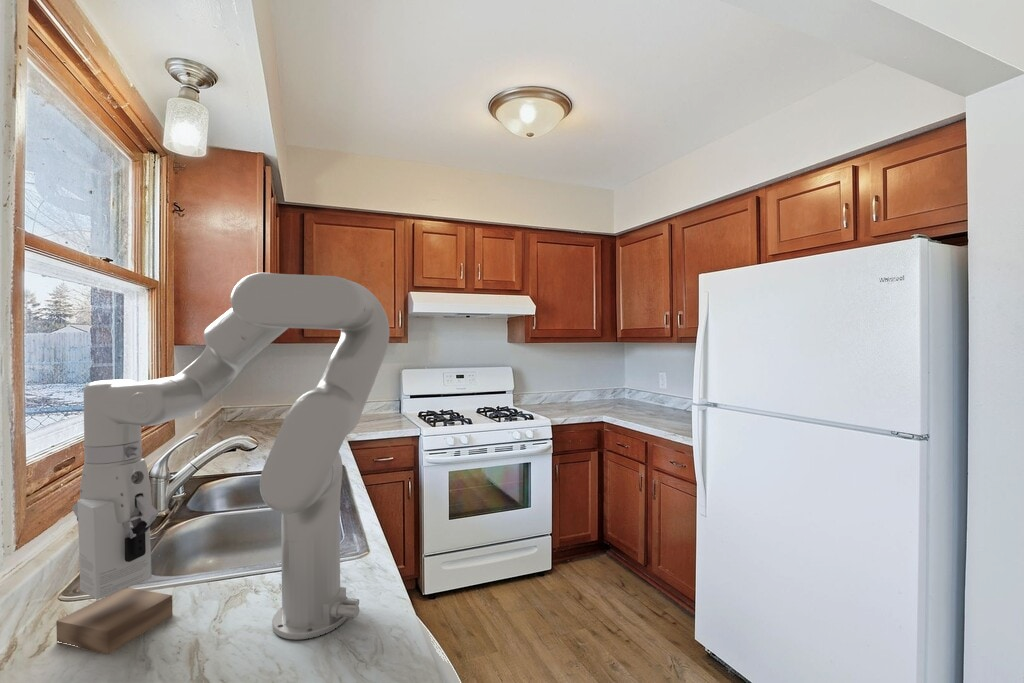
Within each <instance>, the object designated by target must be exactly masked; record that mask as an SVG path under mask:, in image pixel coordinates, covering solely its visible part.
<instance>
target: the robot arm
mask: <svg viewBox="0 0 1024 683" xmlns="http://www.w3.org/2000/svg"><path fill="white" fill-rule="evenodd" d="M230 305H231V306H230V307H231V308H229V309H228V310H227V311H225V312H224V313H223V314H222V315H220V316H219V317H217V319H216V320H214V321H213V322H212V323H210V324H209V325H208V326H207V327H206V328H205V330H204V331H203V340H204V342H205V344H206V345H205V348H204V350H203V351H202V352H201V354H200V355H199V356H198V357H197V358H195V359H194V361H192V362H191V363H190V364H189V365H188V366H186V367H185V368H183V370H181V371H180V372H179V373H177V374H176V375H174V376H166V377H160V378H155V379H147V380H143V381H136V380H133V379H129V378H128V379H125V378H122V379H121V378H120V379H114V378H113V379H101V380H94V381H92V382H91V381H90V382H89V383H87V384H86V385H85V387H84V388H83V438H84V439H83V440H84V441H83V442H84V443H83V444H84V446H83V450H84V453H83V454H84V463H83V467H82V471H81V479H80V486H79V487H80V488H79V500H80V499H92V500H101V501H111V502H114V508H115V515H116V520H117V522H118V523H122V525H123V527H124V529H125V531H126V533H127V535H128V538H125V561H126V562H131V561H133V560H135V559H137V558H139V557H141V556H143V555H145V553H146V543H145V532H148V530H149V527H150V528H151V526H152V525H153V524H154V522H155V520H156V518H158V515H159V511H158V509H156V507H155V506H153V501H152V488H151V481H150V475H149V469H148V465H147V462H146V459H145V458H142V454H143V451H144V450H143V448H142V426H143V427H151V426H152V427H153V426H157V425H158V426H159V425H160V424H164V423H168V422H170V421H173V420H176V419H177V420H178V419H180V418H183V417H184V418H185V417H187V416H190V415H192V414H194V413H196V412H198V411H199V410H201V408H203V407H205V406H206V405H207V404H208V403H209V402H211V401H212V400H213V399H214V398H216V396H218V395H219V394H220V393H222V392H223V391H224V390H225V389H226V388H227V387H228V386H229V385H230V384H231V383H233V381H234V380H235V379H236V378H237V376H238V375H239V374H240V373H241V372H242V371H243V368H244V367H245V365H247V363H248V362H249V361H251V360H252V359H254V357H256V356H257V355H258V354H259V353H260V352H261V351H263V350H264V349H265V348H266V347H268V346H269V345H270V344H271V343H272V342H274V341H275V340H276V339H277V338H279V337H280V336H281V335H282V334H283V333H285V332H286V331H287V330H289V329H307V330H308V329H309V330H310V329H311V330H312V329H313V330H333V331H334V330H336V331H337V330H338V331H339V330H340V337H339V340H338V342H337V344H336V346H335V347H334V350H333V351H332V353H331V355H330V356H329V359H328V362H327V364H326V367H325V370H324V372H323V374H322V375H321V378H320V380H319V382H318V384H317V385H316V387H314V388H313V389H311V390H308V391H306V392H304V393H303V394H301V395H300V396H299V397H297V399H296V400H295V401H294V403H293V404H292V405H291V407H290V408H289V410H288V411H287V414H286V416H285V417H284V420H283V421H282V423H281V427H280V428H279V431H278V432H277V435H276V438H275V440H274V442H273V444H272V447H271V449H270V450H269V454H268V456H267V458H266V461H265V462H264V465H263V467H262V471H261V473H260V477H259V478H260V480H259V491H260V496H261V498H262V500H263V501H264V503H265V505H266V506H267V507H268V508H270V509H271V510H272V511H274V512H276V513H280V514H281V522H280V523H281V525H280V526H281V528H280V530H281V536H280V537H281V538H280V540H281V550H280V551H281V553H280V554H281V608H279V609H278V610H277V611H276V612H275V614H274V615H273V618H272V624H271V625H272V627H271V628H272V631H273V632H274V634H276V635H277V636H278V637H281V638H283V639H286V640H296V641H298V640H307V639H308V638H309V639H313V637H314V638H316V637H317V638H318V637H321V636H323V635H326V634H328V633H330V632H332V631H334V630H336V629H337V628H339V627H340V626H341V625H342V624H343V623H345V621H346V620H347V619H357V617H358V616H359V613H360V606H359V605H360V599H359V598H349V597H348V596H347V587H343V586H342V587H341V537H340V536H341V535H340V534H341V495H342V494H341V492H342V482H343V481H342V480H343V460H342V455H341V454H340V449H341V448H342V445H343V443H344V440H345V439H346V437H347V436H348V435H350V434H351V432H353V431H354V429H355V428H356V427H357V426H358V424H359V421H360V420H361V417H362V414H363V411H364V408H365V406H366V403H367V401H368V399H369V396H370V394H371V392H372V389H373V387H374V384H375V382H376V379H377V377H378V374H379V371H380V368H381V366H382V364H383V361H384V360H385V355H386V353H387V350H388V346H389V343H390V342H389V341H390V323H389V318H388V314H387V312H386V310H385V309H384V307H383V305H382V304H381V303H380V301H379V299H378V298H377V296H375V295H374V294H373V292H371V291H370V290H369V289H368V288H366V287H365V286H363V285H362V284H360V283H358V282H355V281H352V280H349V279H347V278H344V277H341V276H334V275H323V274H322V275H317V274H312V275H311V274H294V273H293V274H288V273H276V272H275V273H272V272H256V273H252V274H251V273H250V274H249V275H246V276H245V277H243V278H241V279H240V280H239V281H238V282H237V283H236V284H235V286H234V287H233V289H232V291H231V294H230ZM135 507H136V508H137V509H138V510H139V511H140V512H139V511H138V512H139V515H136V516H134V517H131V514H132V513H133V511H134V508H135ZM71 510H72V512H73V513H74V515H75V516H76V517H77V518H76V521H77V522H78V501H77V502H75V503H74V504H73V505H72V506H71ZM142 514H143V515H142ZM135 520H137V526H136V527H135V528H134V527H133V525H132V523H131V522H133V521H135ZM338 626H339V627H338ZM335 628H336V629H335ZM325 633H326V634H325ZM320 635H321V636H320Z"/></svg>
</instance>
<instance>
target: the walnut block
mask: <svg viewBox="0 0 1024 683" xmlns="http://www.w3.org/2000/svg"><path fill="white" fill-rule="evenodd" d="M173 614H174V613H173V595H172V594H166V593H162V592H156V591H151V590H150V591H149V590H146V589H145V590H144V589H138V588H134V587H128V588H125V589H123V590H120V591H118V592H116V593H113V594H111V595H108V596H106V597H103V598H101V599H98V600H96V601H93V602H92V603H89V604H88V605H86V606H84V607H82V608H80V609H78V610H75V611H73V612H72V613H70V614H68V615H65V616H64V617H62V618H60V619H58V620H56V623H55V624H56V642H57V641H59V642H62V643H67V644H71V645H75V646H78V647H80V648H79V649H82V648H83V649H82V650H85V651H86V650H87V651H91V652H97V653H101V654H106V655H109V654H112V653H113V652H114V651H116V650H118V649H119V648H121V647H122V646H125V645H126V644H127V643H129V642H131V641H132V640H134V639H136V638H138V637H139V636H141V635H142V634H144V633H146V632H147V631H149V630H150V629H152V628H154V627H155V626H157V625H159V624H160V623H162V622H164V621H165V620H167V619H168V618H170V617H172V616H173Z"/></svg>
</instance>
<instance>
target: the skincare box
mask: <svg viewBox="0 0 1024 683" xmlns="http://www.w3.org/2000/svg"><path fill="white" fill-rule="evenodd" d="M77 502H78V521H77V524H78V526H77V528H78V529H77V532H78V556H79V557H78V559H79V582H80V584H79V589H80V591H81V592H83V593H85V594H86V595H88V596H90V597H92V598H93V599H95V600H96V601H98V600H100V599H102V598H104V597H106V596H108V595H111V594H113V593H116V592H118V591H120V590H123V589H125V588H131V587H132V586H135V585H137V584H139V583H140V584H141V583H143V582H145V581H147V580H150V579H152V556H151V554H152V552H151V551H152V550H151V526H150V527H149V530H148V532H145V543H146V553H145V555H143V556H141V557H139V558H137V559H135V560H133V561H131V562H126V561H125V538H128V535H127V533H126V531H125V529H124V527H123V525H122V523H118V522H117V520H116V515H115V508H114V502H111V501H101V500H92V499H80V498H79V499H77ZM138 511H139V510H138V509H137V508H136V507H135V508H134V511H133V513H132V514H131V517H134V516H136V515H139V512H140V511H139V512H138ZM142 515H143V514H142ZM131 523H132V525H133V527H134V528H135V527H136V526H137V520H135V521H133V522H131Z"/></svg>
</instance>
